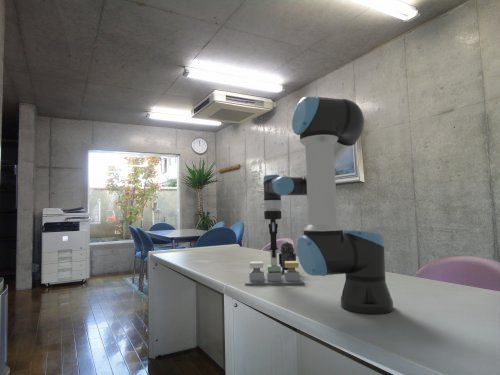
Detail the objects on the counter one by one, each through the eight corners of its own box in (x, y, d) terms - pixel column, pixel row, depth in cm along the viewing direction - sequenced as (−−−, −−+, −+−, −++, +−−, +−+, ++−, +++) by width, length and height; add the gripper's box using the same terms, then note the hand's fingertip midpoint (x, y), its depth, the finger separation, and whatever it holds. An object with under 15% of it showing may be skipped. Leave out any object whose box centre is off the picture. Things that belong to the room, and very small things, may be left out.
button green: (280, 276, 140) (280, 264, 141) (281, 278, 135) (280, 266, 135) (267, 276, 141) (267, 264, 141) (267, 278, 135) (267, 266, 136)
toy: (277, 274, 153) (277, 242, 155) (280, 271, 159) (279, 241, 160) (295, 274, 151) (294, 242, 152) (297, 272, 156) (296, 241, 158)
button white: (263, 272, 141) (263, 261, 141) (263, 275, 136) (262, 263, 136) (250, 272, 141) (250, 261, 142) (250, 275, 136) (249, 263, 136)
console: (300, 277, 145) (300, 268, 145) (304, 285, 129) (304, 274, 129) (247, 277, 146) (247, 268, 147) (245, 285, 131) (245, 275, 131)
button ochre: (297, 272, 140) (297, 260, 141) (298, 274, 135) (298, 262, 135) (285, 272, 140) (284, 261, 141) (285, 275, 135) (285, 263, 135)
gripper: (264, 210, 147) (265, 262, 145) (263, 210, 134) (265, 267, 132) (280, 210, 146) (282, 262, 145) (281, 210, 134) (283, 267, 132)
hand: (273, 264), depth 138 cm, fingers closed
